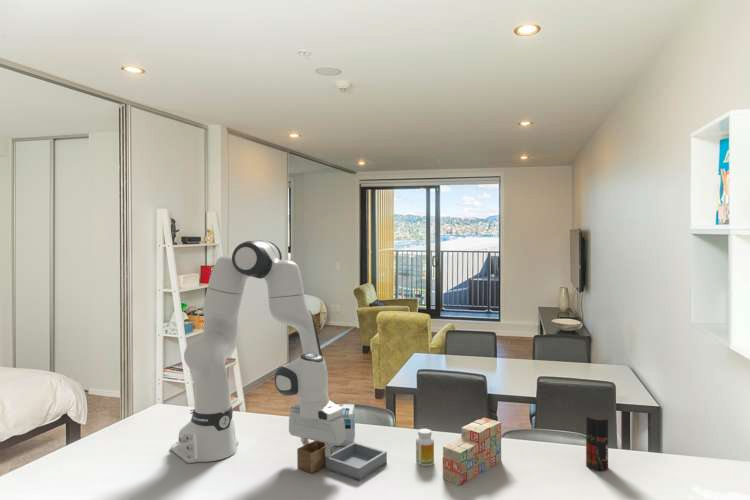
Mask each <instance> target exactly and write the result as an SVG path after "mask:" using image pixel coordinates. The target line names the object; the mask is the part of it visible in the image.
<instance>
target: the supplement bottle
mask: <svg viewBox="0 0 750 500" xmlns="http://www.w3.org/2000/svg"><path fill="white" fill-rule="evenodd" d="M417 435H418V436H417V438H416V439H415V454H416V455H415V462H416V464H417V465H419V466H422V467H430V466H432V465H434V464H435V463H434V462H435V442H434V441H435V439H434V438H433V437H432V435H433V434H432V430H431V429H428V428H420V429H418V432H417Z"/></svg>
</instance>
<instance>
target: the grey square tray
mask: <svg viewBox="0 0 750 500" xmlns="http://www.w3.org/2000/svg"><path fill="white" fill-rule="evenodd" d="M387 453H388V452H387V451H384V450H382V449H378V448H374V447H372V446H368V445H364V444H361V443H358V442H355V441H354V443H352V444H350V445H348V446H343V447H342V448H340V449H338V450H336V451H334V452H333V454H331V455H330V456H329V457H325V458H326V467H325V470H327V471H330V472H333V473H336V474H338V475H341V476H343V477H347V478H350V479H353V480H355V481H358V482H360V481H362V480H364V479H365V478H366V477H368V476H369V475H371V474H372V473H374V472H376V471H377V470H379V469H380V468H382V467H383V466H385V465H387V462H388V458H387V457H388V454H387Z"/></svg>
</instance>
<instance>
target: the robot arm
mask: <svg viewBox="0 0 750 500" xmlns="http://www.w3.org/2000/svg"><path fill="white" fill-rule="evenodd" d="M282 258H283V257H282V252H281V250H280V248H279V247H278V246H277V245H276V244H275V243H273V242H271V241H265V240H258V239H256V240H247V241H243V242H241V243H239V244H238V245H237V246H236V247H235V248H234V250H233V251H232V254H226V255H221V256H219V257H218V258H217V260H216V262H215V264H214V266H213V269H212V270H211V273H210V275H209V280H208V284H207V288H206V293H205V297H204V301H203V307H202V314H203V330H202V333H201V334H199V335H198V336H196V337H194V338H193V339H192V340H191V341H190V342H189V343H188V345H187V346H186V348H185V350H184V352H183V358H184V362H185V364H186V366H187V367H188V368H189V371H190V374H191V378H192V382H193V389H194V392H193V393H194V394H193V395H194V409H191V410H189V414H190V415H191V414H192V415H191V418H190V420H189V422H188V423H186V424H185V425H184V426H183V427H182V428H180V430H179V431H178V432H179V433H178V441H176V442H174V443H173V444H172V445H171V446H170V451H172V452H173V453H175V454H176V455H177V456H178V457H179V458H181V460H183V461H184V462H186V463H187V464H193V463H198V462H199V463H201V462H203V463H205V462H206V463H207V462H214V461H219V460H223V459H227V458H228V457H231V456H233V455H234V454H235V453H236V452H237V450H238V449H237V446H238V444H239V439H237V437H236V428H235V421H234V419H233V413H234V412H233V411H234V410H233V406H232V401H231V400H232V399H231V397H232V393H231V391H232V389H231V388H232V387H231V386H232V385H231V381H230V379H229V378H228V374H227V369H226V360H227V359H229V358H230V357H231V356H232V355H233V354H234V351H235V350H236V347H237V343H238V338H237V335H238V318H239V313H240V312H239V311H240V309H241V308H240V307H241V303H242V299H243V293H244V291H245V285H246V282H247V280H248V278H249V277H251V278H256V279H260V280H262V279H263V280H264V281H265V282H266V285H267V296H268V307H269V311H270V314H271V317H273V318H274V319H275V320H276V321H277V322H279V323H280V324H283V325H286V326H289V327H292V328H293V329H295V330H296V331H297V333H298V334H299V335H298V336H299V339H300V343H301V344H300V345H301V349H302V354H301V355H300V356H299V357H298V358H297V359H295V360H293V361H291V362H289V363H286V364H283V365H281V366H279V367H278V368H277V369H276V371H275V373H274V378H273V380H274V384H275V388H276V390H277V391H278V393H280V395H282V396H286V397H289V396H295V395H297V396H298V397H299V405H298V404H293V405H291V407H290V408H289V418H288V432H289V434H290V436H293V437H298V438H300V442H301V444H302V446H304V445H306V444H308V443H310V442H309V440H311V441H319V442H323V443H325V446H326V449H325V450H324V451H323V456H324V457H329V456H330V450H331V448H332V445H333V446H334V445H336V446H335V447H338V446H337V445H340V444H341V443H343V442H344V441H345V439H346V432H345V423H344V420H343V418H342V417H341V415H342V414H343V409H342V408H341V407H340V406H338V405H336V403H334V402H333V401H332V400H330V395H329V392H328V384H329V377H328V376H329V375H328V368H327V364H326V361H325V360H326V359H325V358H324V356H323V353H322V349H321V344H320V340H319V338H320V337H319V335H318V329H317V325H316V321H315V318H314V315H313V313H312V312H311V310H310V309H308V306H307V304H306V301H305V293H304V292H305V290H304V284H303V279H302V275H301V274H302V273H301V270H300V267H299V265H298V264H297V263H296V262H294V261H292V260H287V259H282Z"/></svg>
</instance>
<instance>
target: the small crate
mask: <svg viewBox="0 0 750 500" xmlns="http://www.w3.org/2000/svg"><path fill="white" fill-rule="evenodd" d="M333 447H334V445H332V448H331V450H330V455H331V454H333V453H334V448H333ZM325 449H326V446H325V443H323V442H319V441H314V440H311V442H309V443H308V444H306V445H302V446H301V447H298V448H297V450H296V451H297V452H296V454H297V455H296V461H297V463H296V464H297V466H296V467H297V469H298V470H299V471H303V472H305V473H308V474H310V475H314V474H316V473H317V472H319V471H321V470H322V469H324V468H325V469H326V458H325V457H324V456H323V451H324V450H325Z"/></svg>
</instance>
